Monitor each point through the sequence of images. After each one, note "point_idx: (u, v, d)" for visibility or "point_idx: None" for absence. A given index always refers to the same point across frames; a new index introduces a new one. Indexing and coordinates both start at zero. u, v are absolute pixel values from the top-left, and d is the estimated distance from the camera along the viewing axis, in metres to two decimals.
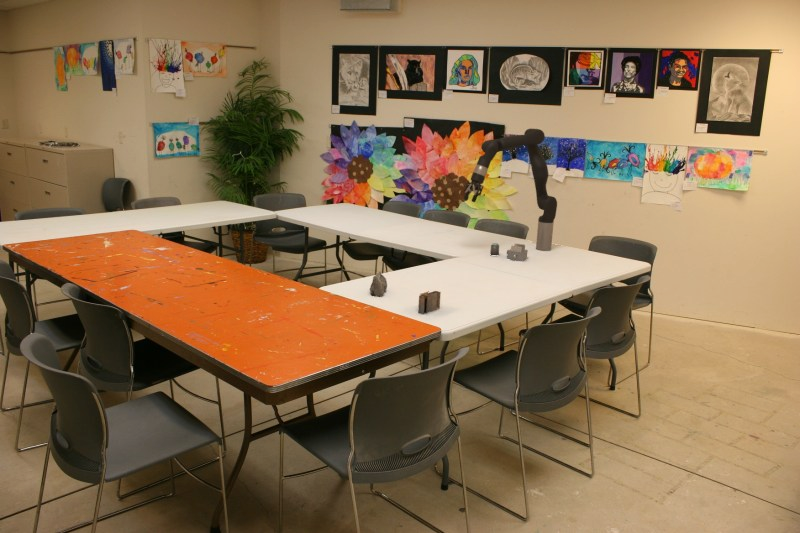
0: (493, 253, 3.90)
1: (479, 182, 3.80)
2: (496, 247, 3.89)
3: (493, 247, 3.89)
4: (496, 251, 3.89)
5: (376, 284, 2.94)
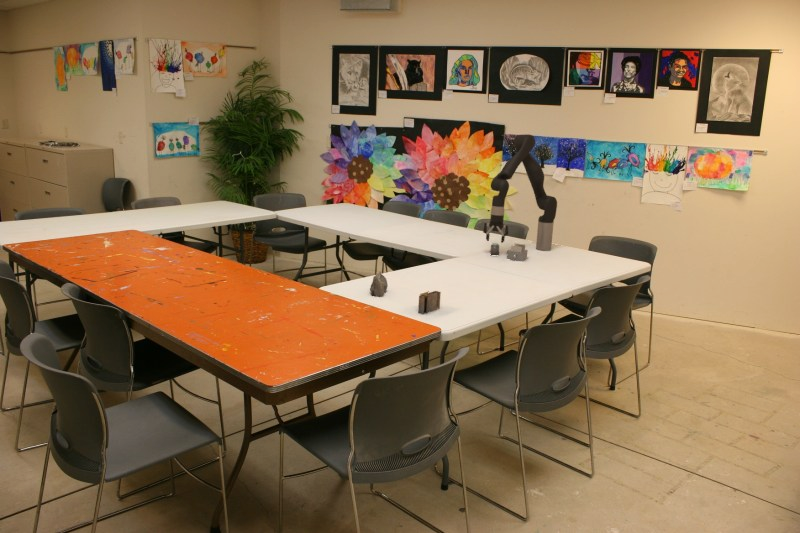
0: (493, 253, 3.90)
1: (502, 222, 3.86)
2: (496, 247, 3.89)
3: (493, 247, 3.89)
4: (496, 251, 3.89)
5: (376, 284, 2.94)
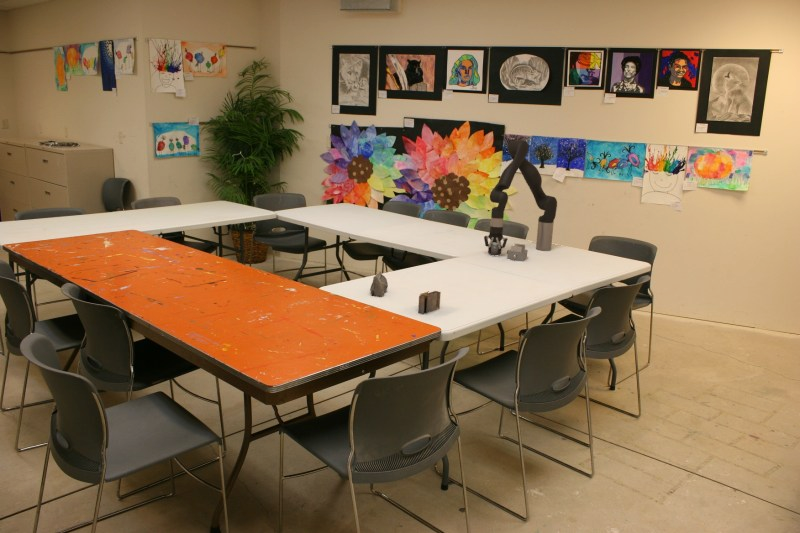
0: (493, 253, 3.90)
1: (502, 234, 3.88)
2: (496, 247, 3.89)
3: (493, 247, 3.89)
4: (496, 251, 3.89)
5: (376, 284, 2.94)
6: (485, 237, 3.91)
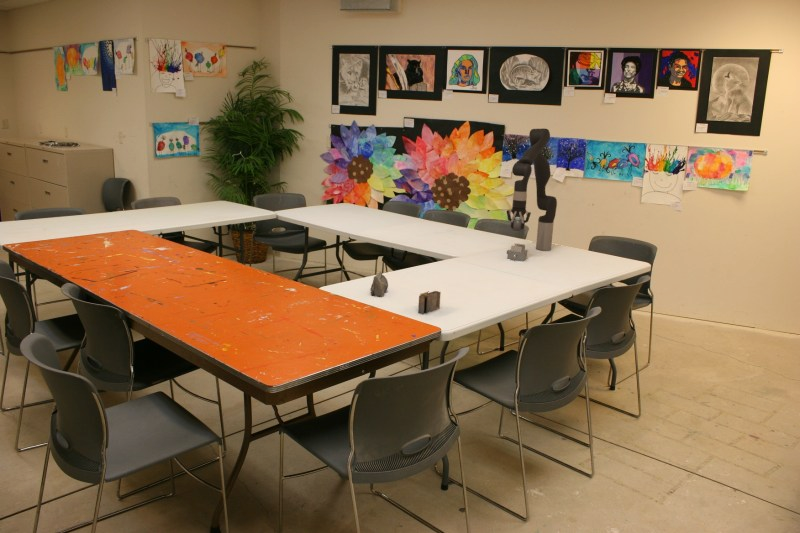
0: (516, 228, 3.80)
1: (525, 208, 3.77)
2: (519, 221, 3.79)
3: (516, 221, 3.79)
4: (519, 226, 3.79)
5: (376, 284, 2.94)
6: (508, 211, 3.81)
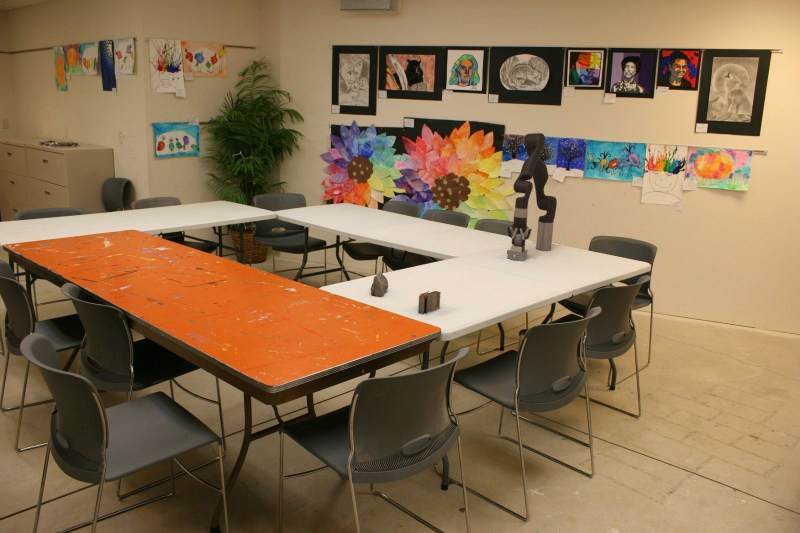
0: (517, 244, 3.81)
1: (526, 225, 3.79)
2: (520, 238, 3.80)
3: (517, 238, 3.80)
4: (520, 242, 3.81)
5: (376, 284, 2.94)
6: (508, 228, 3.82)
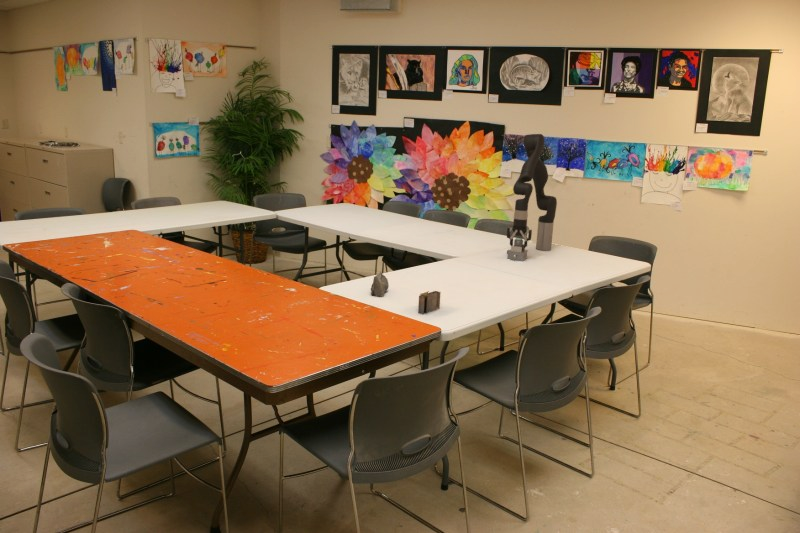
0: None
1: (526, 226, 3.79)
2: (520, 242, 3.80)
3: (517, 242, 3.81)
4: (520, 246, 3.81)
5: (376, 284, 2.94)
6: (508, 229, 3.82)
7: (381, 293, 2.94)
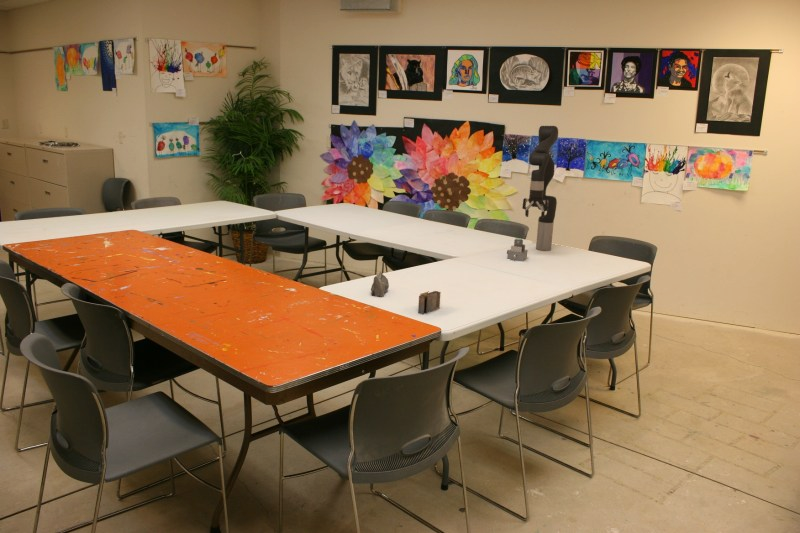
0: None
1: (542, 197, 3.77)
2: (520, 242, 3.80)
3: (517, 242, 3.81)
4: (520, 246, 3.81)
5: (376, 284, 2.94)
6: (524, 200, 3.80)
7: (381, 293, 2.94)
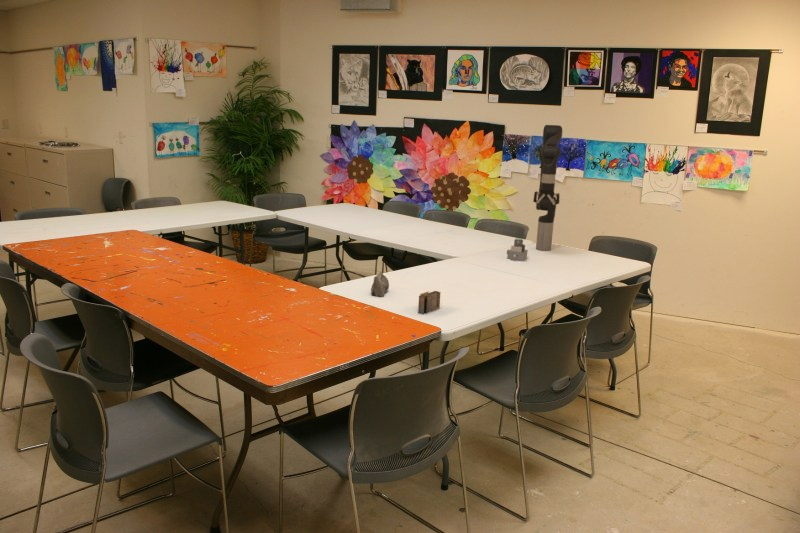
0: None
1: (553, 191, 3.77)
2: (520, 242, 3.80)
3: (517, 242, 3.81)
4: (520, 246, 3.81)
5: (376, 284, 2.94)
6: (536, 193, 3.80)
7: (381, 293, 2.94)
